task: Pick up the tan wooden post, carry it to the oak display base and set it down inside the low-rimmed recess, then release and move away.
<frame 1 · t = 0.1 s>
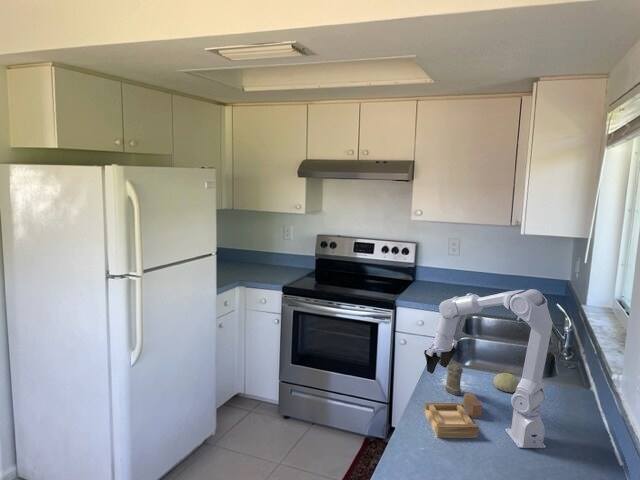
hand: (436, 369, 167), 11 cm above the table, tool pointing down, fingers open, 7 cm apart
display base: (449, 424, 152), on the table
tan wooden post: (471, 412, 161), on the table
stone: (452, 393, 174), on the table
sea urchin shell: (505, 388, 179), on the table
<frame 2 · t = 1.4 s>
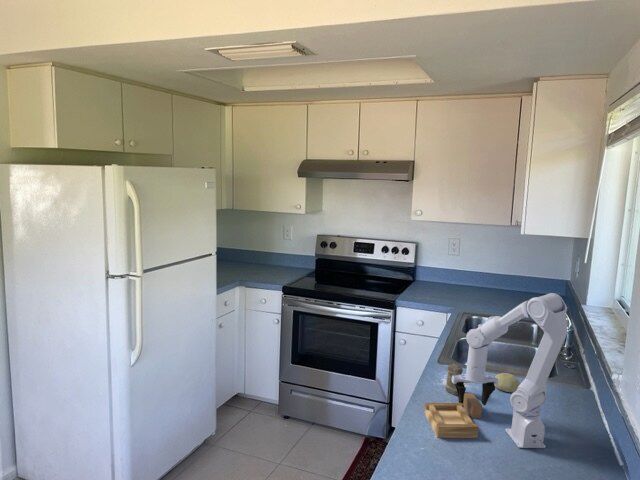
hand: (472, 403, 161), 3 cm above the table, tool pointing down, fingers open, 7 cm apart
nothing on the table moved.
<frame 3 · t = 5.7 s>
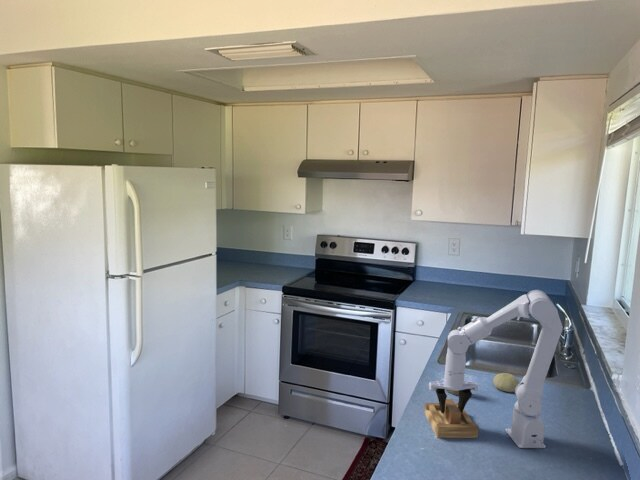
hand: (451, 411, 152), 4 cm above the table, tool pointing down, fingers open, 5 cm apart
tan wooden post: (450, 419, 152), point 2 cm above the table, touching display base
everything else where it was.
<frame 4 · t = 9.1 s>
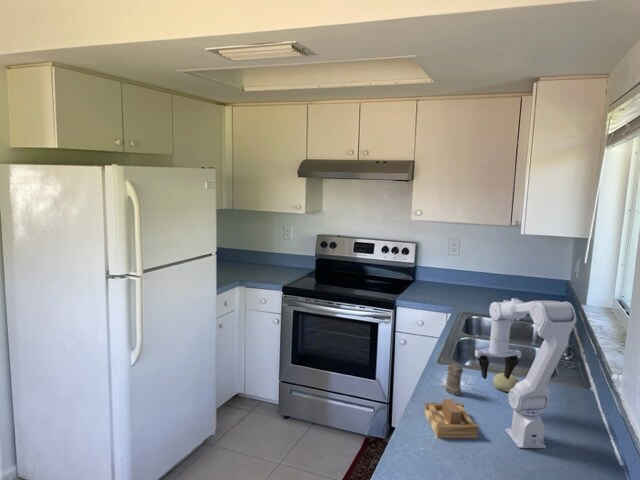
hand: (495, 377, 163), 10 cm above the table, tool pointing down, fingers open, 7 cm apart
nothing on the table moved.
at the end: tan wooden post inside the target area on the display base (0.1 cm from its centre), point 2.0 cm above the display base's base; tan wooden post tilted 0°; the gripper is holding nothing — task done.
